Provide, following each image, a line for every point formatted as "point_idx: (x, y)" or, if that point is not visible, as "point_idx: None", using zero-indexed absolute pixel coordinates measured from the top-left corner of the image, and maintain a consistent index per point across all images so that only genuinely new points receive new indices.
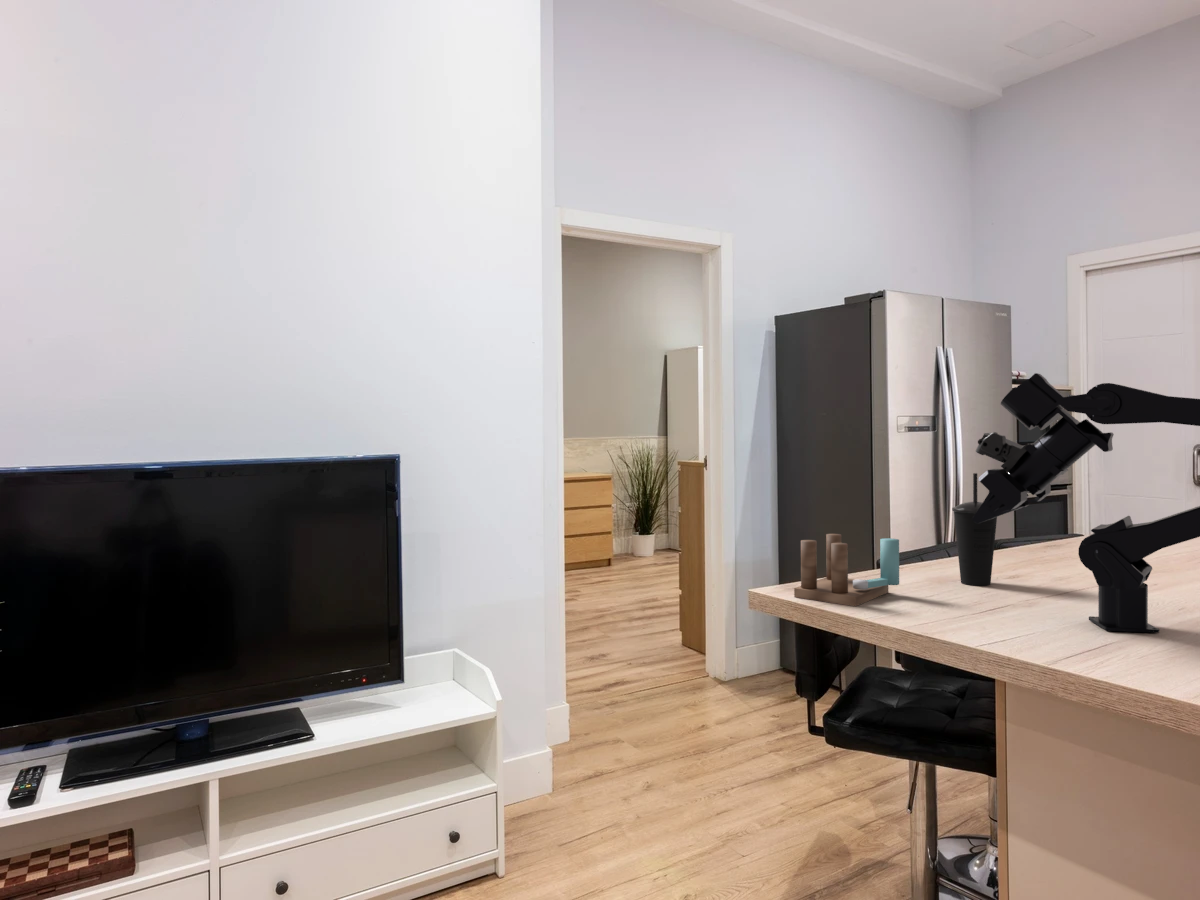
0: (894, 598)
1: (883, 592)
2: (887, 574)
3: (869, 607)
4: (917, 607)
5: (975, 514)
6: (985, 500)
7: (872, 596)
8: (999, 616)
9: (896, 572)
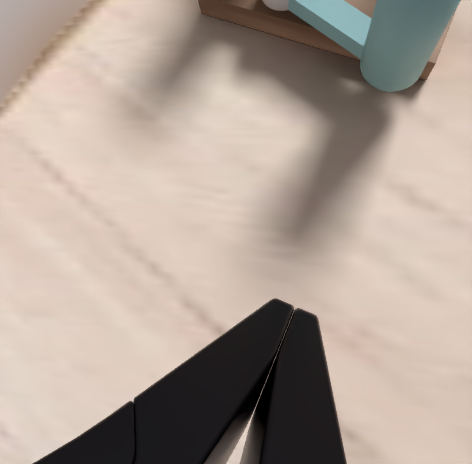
0: (340, 99)
1: None
2: (367, 35)
3: (200, 45)
4: (234, 160)
5: (244, 323)
6: (76, 442)
7: (308, 39)
8: None
9: (377, 58)
